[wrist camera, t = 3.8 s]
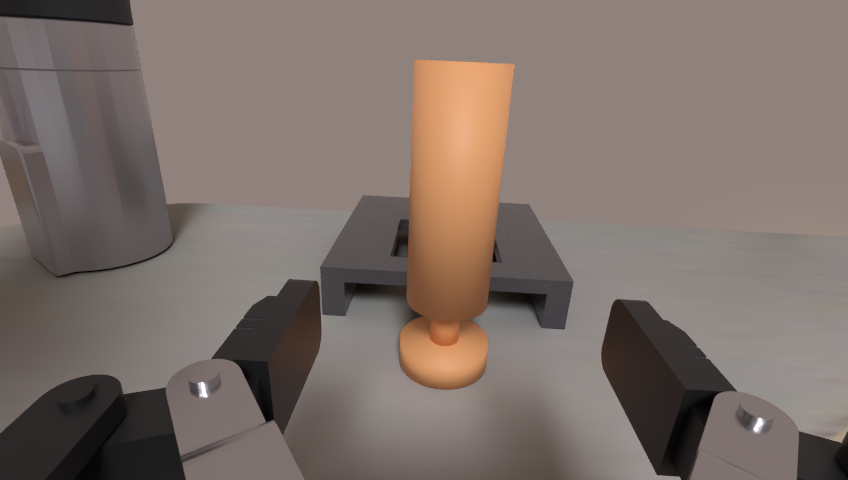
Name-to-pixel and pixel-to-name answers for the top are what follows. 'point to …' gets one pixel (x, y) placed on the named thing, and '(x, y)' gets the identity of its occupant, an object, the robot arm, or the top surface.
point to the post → (453, 216)
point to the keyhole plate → (374, 263)
